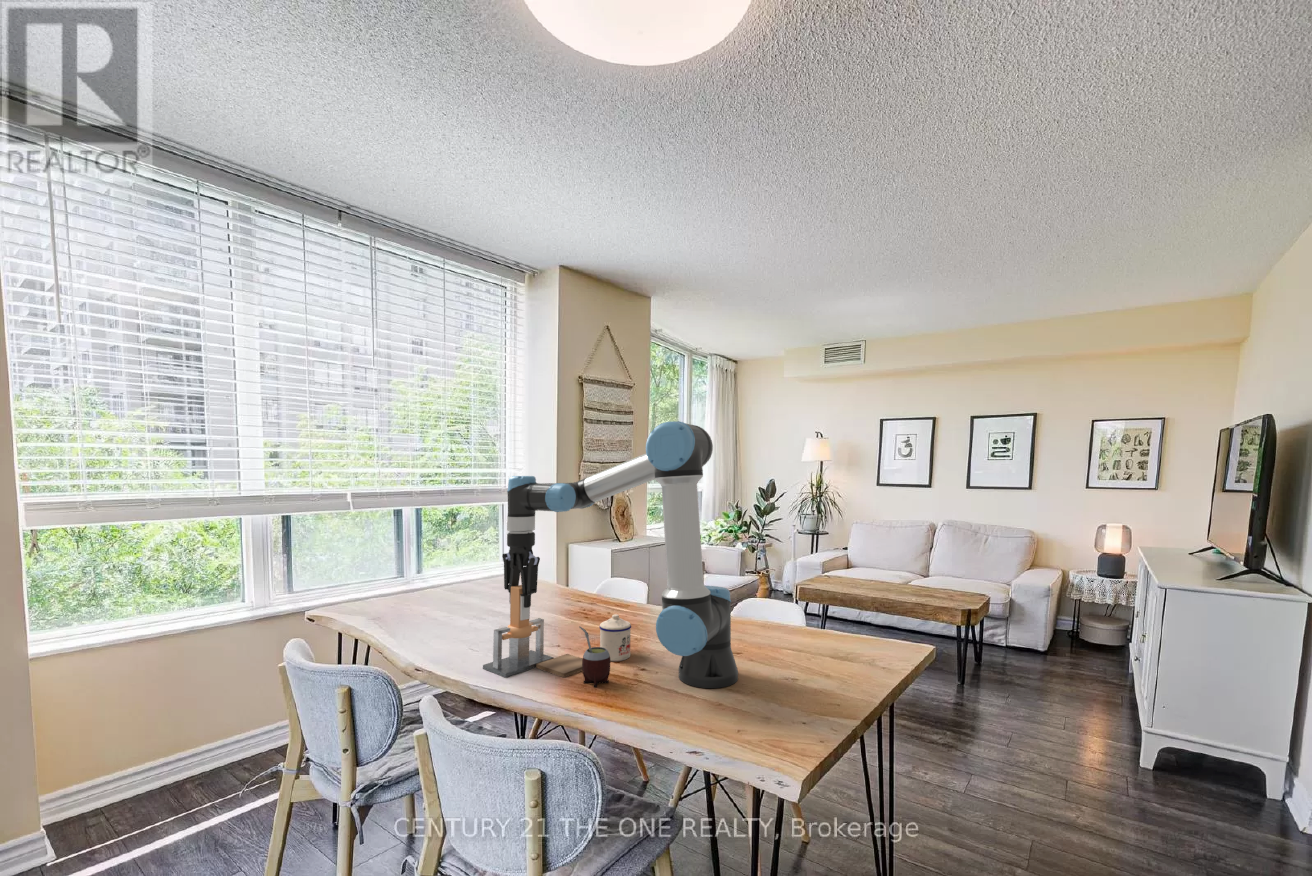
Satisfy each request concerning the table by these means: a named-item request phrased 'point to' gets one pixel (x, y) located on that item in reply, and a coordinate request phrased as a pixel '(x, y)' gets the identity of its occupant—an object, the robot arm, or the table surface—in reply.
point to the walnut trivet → (562, 665)
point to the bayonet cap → (517, 618)
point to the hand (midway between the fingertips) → (519, 617)
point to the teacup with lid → (616, 638)
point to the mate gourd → (595, 664)
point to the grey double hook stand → (517, 652)
